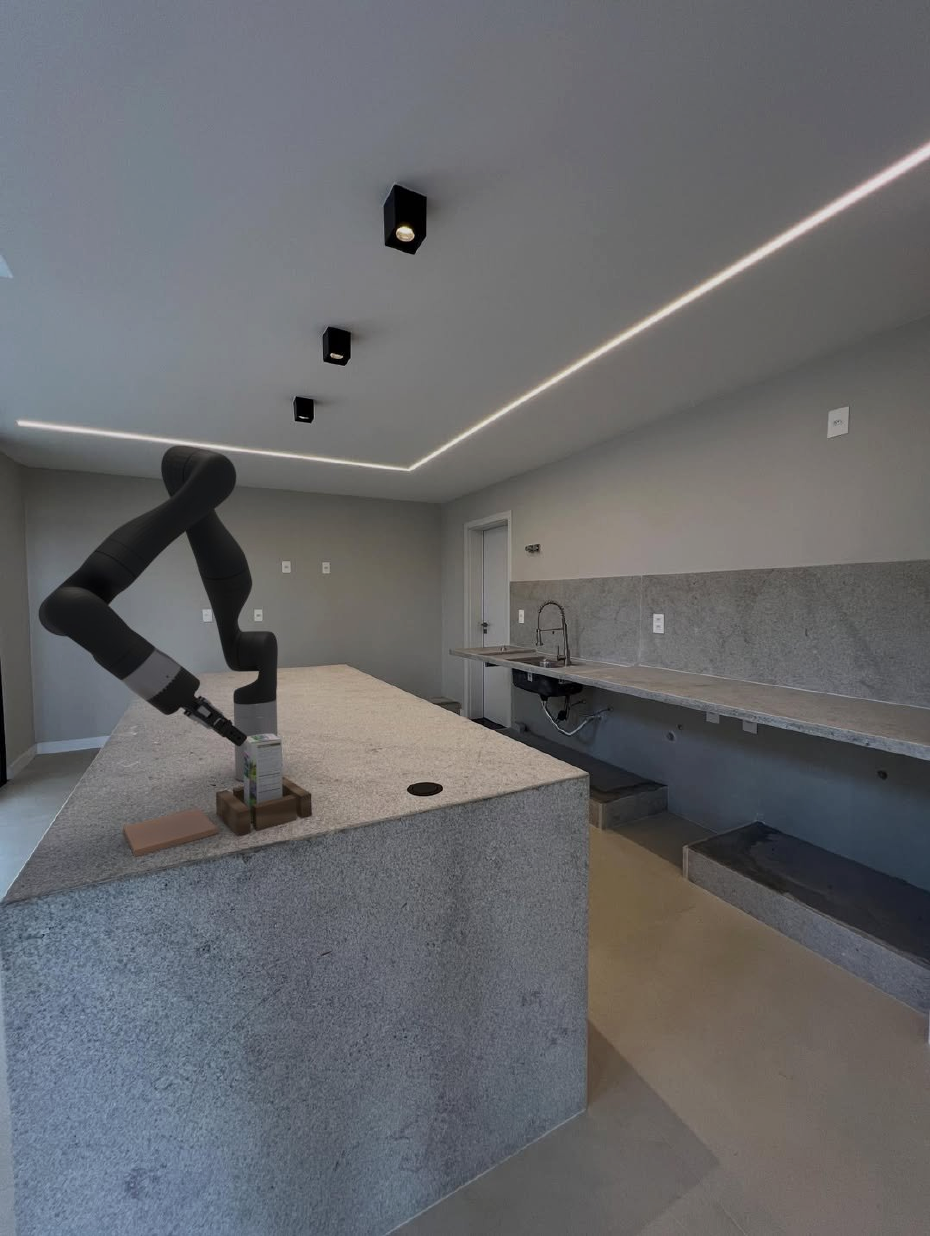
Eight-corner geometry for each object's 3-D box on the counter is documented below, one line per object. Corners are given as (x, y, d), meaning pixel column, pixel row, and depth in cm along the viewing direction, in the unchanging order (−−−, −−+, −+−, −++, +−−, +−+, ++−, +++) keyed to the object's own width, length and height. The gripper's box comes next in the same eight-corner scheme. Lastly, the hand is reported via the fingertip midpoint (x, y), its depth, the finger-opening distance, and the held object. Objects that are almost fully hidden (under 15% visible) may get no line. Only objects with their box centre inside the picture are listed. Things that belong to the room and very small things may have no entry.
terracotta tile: (123, 831, 90) (122, 826, 90) (198, 813, 98) (198, 807, 98) (134, 856, 81) (134, 850, 81) (217, 833, 89) (216, 827, 89)
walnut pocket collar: (216, 813, 98) (216, 792, 97) (284, 796, 106) (284, 776, 106) (238, 836, 88) (238, 812, 88) (311, 814, 96) (311, 793, 96)
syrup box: (243, 813, 97) (241, 736, 97) (275, 805, 101) (273, 731, 101) (251, 823, 93) (249, 742, 92) (284, 815, 96) (282, 737, 96)
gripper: (189, 666, 82) (264, 727, 90) (169, 660, 93) (238, 714, 101) (151, 704, 79) (232, 763, 86) (135, 693, 90) (209, 747, 97)
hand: (235, 737), depth 93 cm, fingers open, 8 cm apart
